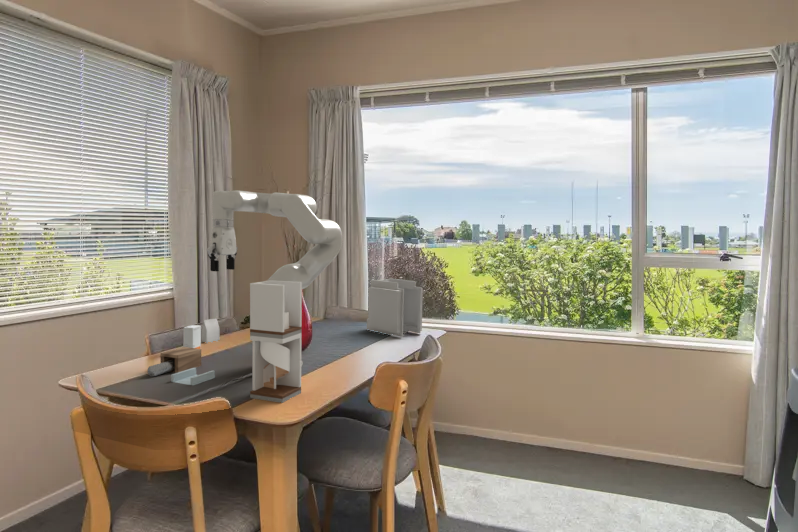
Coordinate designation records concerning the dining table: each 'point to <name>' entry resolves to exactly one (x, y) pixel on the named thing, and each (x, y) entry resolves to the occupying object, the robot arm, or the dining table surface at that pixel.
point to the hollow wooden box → (183, 358)
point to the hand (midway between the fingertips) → (222, 270)
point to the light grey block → (210, 331)
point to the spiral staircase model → (276, 339)
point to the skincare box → (192, 336)
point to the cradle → (191, 377)
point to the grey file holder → (395, 306)
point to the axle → (161, 368)
